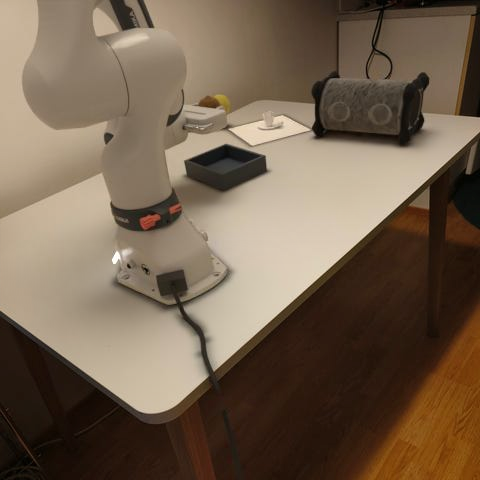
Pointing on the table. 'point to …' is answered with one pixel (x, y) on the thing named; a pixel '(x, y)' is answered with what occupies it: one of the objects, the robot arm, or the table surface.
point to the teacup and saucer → (268, 129)
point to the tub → (225, 166)
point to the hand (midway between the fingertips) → (211, 107)
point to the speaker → (369, 105)
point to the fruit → (209, 102)
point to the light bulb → (223, 102)
